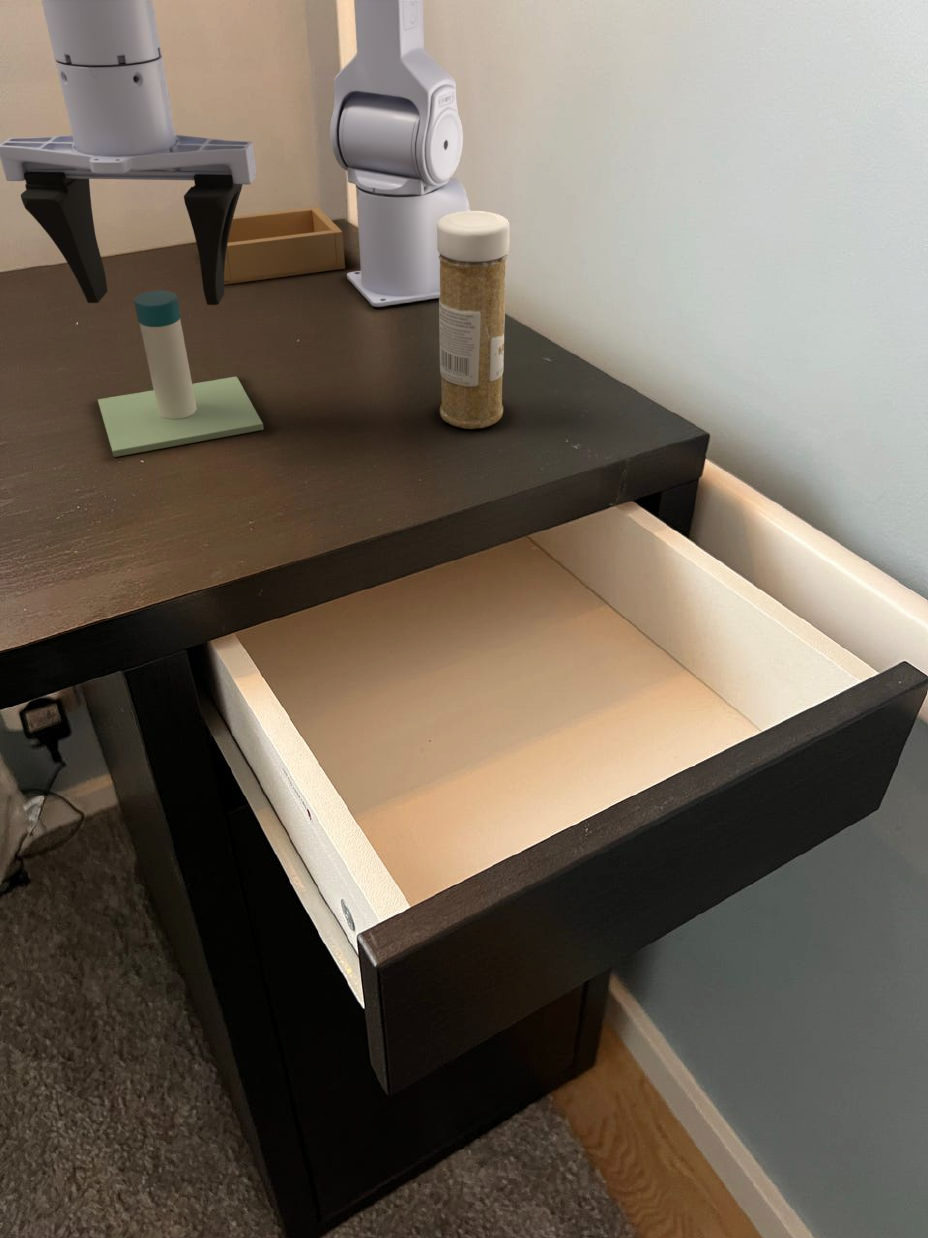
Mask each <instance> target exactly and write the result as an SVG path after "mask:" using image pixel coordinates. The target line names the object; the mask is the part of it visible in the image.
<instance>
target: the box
mask: <svg viewBox="0 0 928 1238" xmlns="http://www.w3.org/2000/svg"><path fill="white" fill-rule="evenodd" d="M343 269H346V261H345V247H344V233H343V231H342V230H341V228H340V227H339V226H338V225H336V223H334V222H333V221H332V220H331V219H330V218H329V217H328V215H327V214H325V213H324V212H323V211H322V210H321V208H320V207H318V206H313V207H302V208H295V209H285V210H284V209H283V210H277V211H268V212H260V213H250V214H241V215H234V216H233V220H232V224H231V228H230V233H229V238H228V244H227V250H226V259H225V270H224V286H226V285H232V284H241V283H248V282H254V281H261V280H269V279H277V278H284V277H292V276H300V275H306V274H315V273H320V272H321V273H322V272H329V271H335V270H343Z"/></svg>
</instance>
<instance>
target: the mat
mask: <svg viewBox="0 0 928 1238" xmlns="http://www.w3.org/2000/svg"><path fill="white" fill-rule="evenodd" d="M240 381H241V380H239V378H238V376H230V377H225V378H218V379H213V380H207V381H201V382H200V381H199V382H196V383H195V382H194V383H192V386H193V391H194V397H195V402H196V407H197V409H196V412H195V413H194V414H192V415H191V416H188V417H185V418H181V419H167V418H163V417H161V416H160V415H159V413H158V408H157V403H156V399H155V394H154V389H153V390H152V389H151V390H145V391H141V392H134V393H127V394H122V395H117V396H110V397H103V398H99V399H97V402H98V407H99V410H100V414H101V417H102V420H103V425H104V428H105V431H106V435H107V438H108V441H109V445H110V448H111V452H112V456H113V458H117V457H123V456H128V455H133V454H134V455H135V454H139V453H145V452H150V451H154V450H155V451H156V450H160V449H166V448H172V447H177V446H183V445H187V444H195V443H199V442H205V441H209V440H215V439H221V438H225V437H231V436H237V435H243V434H248V433H253V432H258V431H259V432H260V431H263V430H264V423H263V422H262V420H261V418H260V415H259V414H258V412H257V411H256V408H255V407H254V405H253V404H252V401H251V400H250V398H249V396H248V394H247V392H246V391H245V388H244V386H243V385H242V383H241V382H240Z"/></svg>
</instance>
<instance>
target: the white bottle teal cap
mask: <svg viewBox="0 0 928 1238" xmlns="http://www.w3.org/2000/svg"><path fill="white" fill-rule="evenodd" d="M133 302H134V303H133V304H134V307H135V313H136V317H137V318H136V319H137V322H138V323H139V328H140V332H141V336H142V341H143V346H144V352H145V356H146V361H147V365H148V370H149V375H150V380H151V384H152V389H153V390H154V394H155V399H156V403H157V408H158V413H159V415H160V416H161V417H163V418H167V419H181V418H185V417H188V416H191V415H192V414H194V413H195V412H196V409H197V407H196V402H195V397H194V391H193V386H192V384H193V379H192V375H191V370H190V365H189V359H188V354H187V348H186V342H185V337H184V332H183V331H184V330H183V326H182V321H181V311H180V306H179V300H178V296H177V294H175V293H174V292H172V291H168V290H151V291H146V292H142V293H140V294H138V295H137V296H136V297H135V298H134V299H133Z"/></svg>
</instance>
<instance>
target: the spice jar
mask: <svg viewBox="0 0 928 1238" xmlns="http://www.w3.org/2000/svg"><path fill="white" fill-rule="evenodd" d="M510 232H511V225H510V222H509V220H508V219H507V218H506V217H505V216H503V215H500V214H498V213H495V212H490V211H483V210H470V211H461V212H455V213H451V214H447V215H445V216H443V217H442V218H440V220H439V221H438V223H437V251H438V252H439V253H440V255H439V259H440V297H439V298H438V315H439V316H438V319H439V320H438V323H439V324H438V325H439V326H438V327H439V333H438V334H439V335H438V337H439V340H438V341H439V373H440V383H441V384H440V389H441V391H440V396H441V399H440V400H441V404H440V407H439V415H440V417H441V419H442V420H443V421H444V423H448V425H451V426H452V427H456V428H461V429H465V430H466V429H467V430H476V429H484V428H487V427H491V426H492V425H495V424H496V423H498V422H499V421H500V420H501V419H502V417H503V414H504V405H503V397H502V396H503V375H504V374H503V373H504V368H505V367H504V362H505V361H504V360H505V359H504V357H505V319H506V318H505V317H506V309H505V308H506V307H505V294H506V293H505V291H506V290H505V287H506V262H507V257H508V253H509V252H510V245H511V244H510V242H511V241H510V239H511V236H510V235H511V233H510Z"/></svg>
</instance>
